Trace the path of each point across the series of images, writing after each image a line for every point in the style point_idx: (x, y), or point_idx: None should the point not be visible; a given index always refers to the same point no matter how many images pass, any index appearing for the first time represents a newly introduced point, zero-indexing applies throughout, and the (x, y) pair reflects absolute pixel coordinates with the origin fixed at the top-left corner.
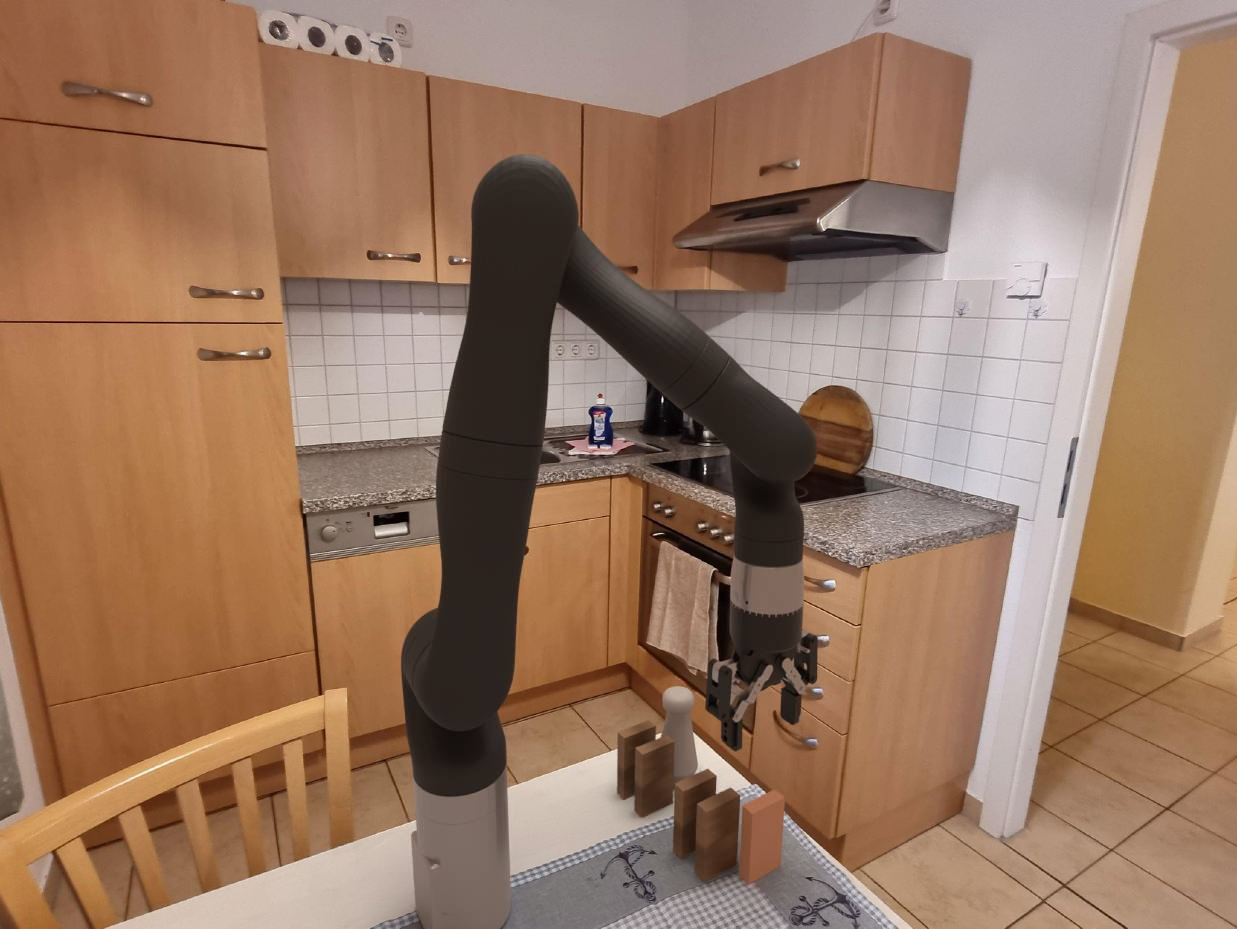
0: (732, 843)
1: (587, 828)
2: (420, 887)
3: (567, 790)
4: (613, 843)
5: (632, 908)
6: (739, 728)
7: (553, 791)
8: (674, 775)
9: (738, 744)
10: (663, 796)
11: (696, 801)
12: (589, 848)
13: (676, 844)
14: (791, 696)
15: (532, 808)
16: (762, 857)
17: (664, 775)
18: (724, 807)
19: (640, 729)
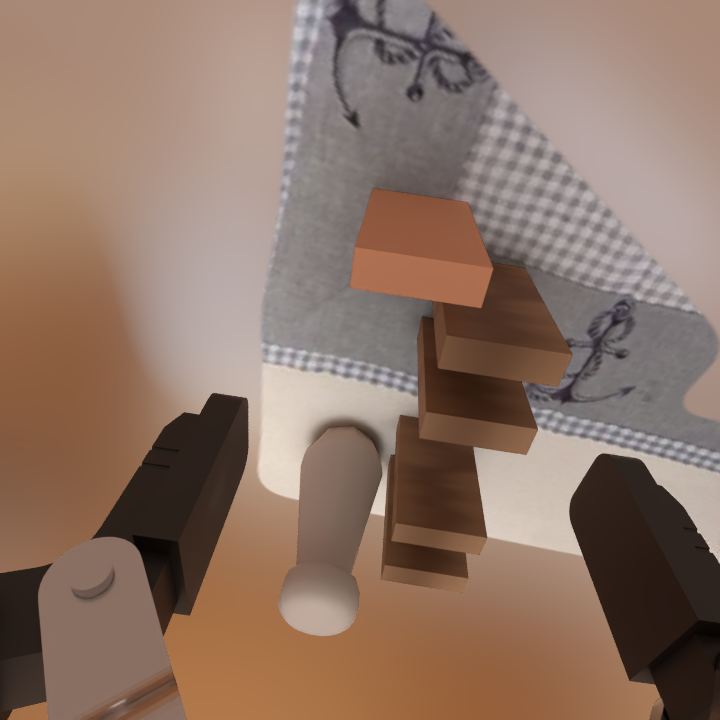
0: None
1: (551, 462)
2: None
3: (503, 521)
4: (552, 420)
5: (665, 314)
6: (697, 570)
7: (519, 531)
8: (372, 453)
9: (648, 482)
10: None
11: (485, 392)
12: (587, 436)
13: None
14: (189, 550)
15: (571, 528)
16: (432, 210)
17: (422, 468)
18: (503, 337)
19: (419, 574)
